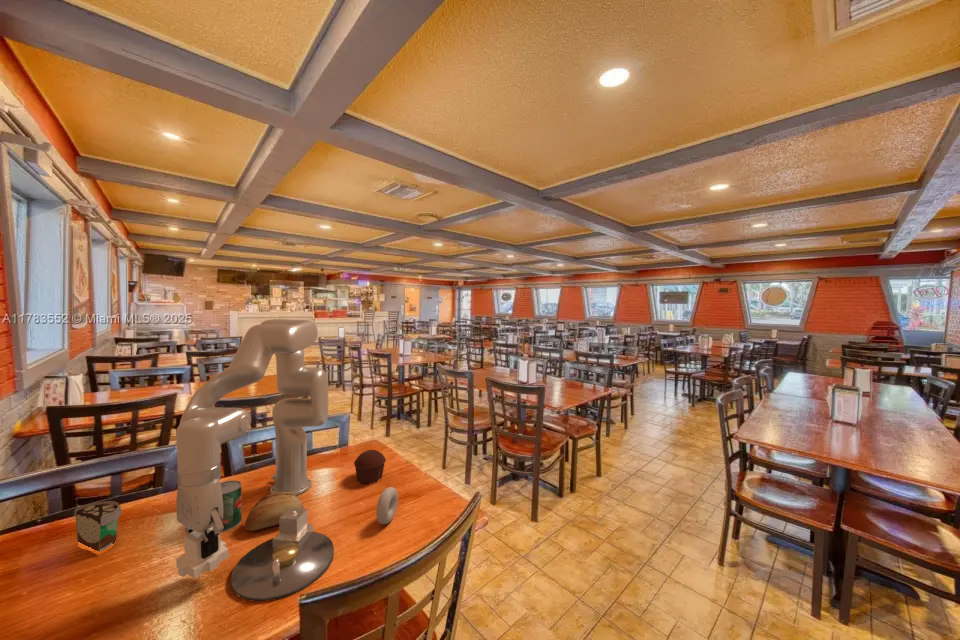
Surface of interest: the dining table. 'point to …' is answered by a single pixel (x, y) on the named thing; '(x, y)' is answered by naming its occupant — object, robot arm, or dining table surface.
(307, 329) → the robot arm
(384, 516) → the donut
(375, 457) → the muffin
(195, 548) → the hollow square tube block
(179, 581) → the dining table surface
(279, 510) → the bread roll
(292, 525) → the carrier
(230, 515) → the canned tomato
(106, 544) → the food container
